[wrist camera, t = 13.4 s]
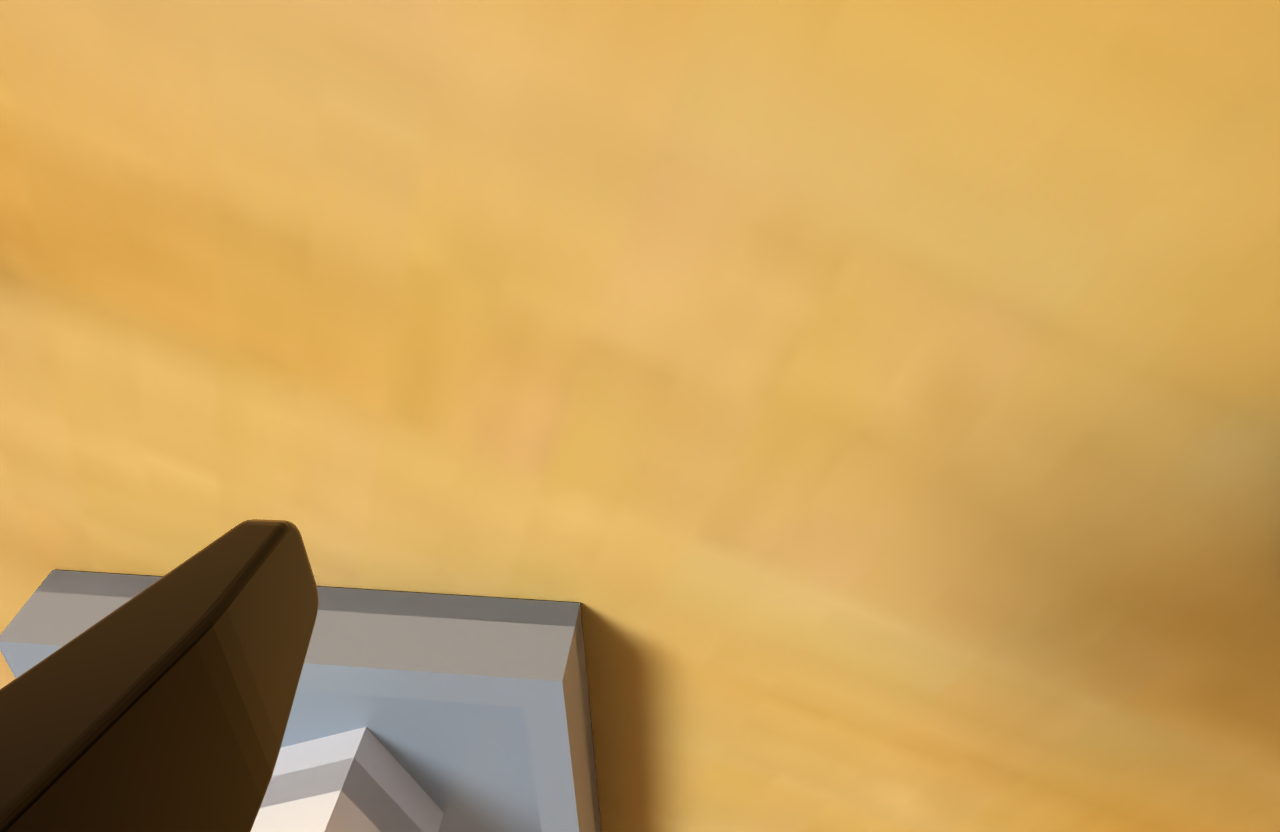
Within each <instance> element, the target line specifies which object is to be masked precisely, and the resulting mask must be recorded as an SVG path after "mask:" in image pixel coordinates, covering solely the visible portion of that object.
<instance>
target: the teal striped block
mask: <svg viewBox="0 0 1280 832" xmlns="http://www.w3.org/2000/svg"><path fill="white" fill-rule="evenodd" d="M443 814H444V812H443V811H442V810H441V809H440V808H439V807H438V806H437V805H436V803H435V802H434V801H433V800H432V799H431V798H430V797H429V796H428V795H427V794H426V792H425V791H424V790H423V789H422V788H421V787H420V786H419V785H418V784H417V782H416V781H415V780H414V779H413V778H412V777H411V776H410V775H409V774H408V773H407V771H406V770H405V769H404V768H403V767H402V766H401V765H400V764H399V763H398V761H397V760H396V759H395V758H394V757H393V756H392V755H391V754H390V753H389V752H388V750H387V749H386V748H385V747H384V746H383V745H382V744H381V743H380V742H379V740H378V739H377V738H376V737H375V736H374V735H373V734H372V733H371V732H370V730H369V729H368V728H367V727H363V728H359V729H355V730H351V731H347V732H343V733H339V734H335V735H331V736H327V737H323V738H319V739H315V740H311V741H306V742H302V743H298V744H294V745H290V746H286V747H282V748H281V749H280V752H279V755H278V758H277V762H276V765H275V768H274V771H273V775H272V777H271V780H270V783H269V785H268V788H267V791H266V794H265V796H264V799H263V802H262V804H261V807H260V809H259V812H258V814H257V817H256V819H255V822H254V824H253V827H252V829H251V832H438V831H439V827H440V824H441V821H442V817H443Z"/></svg>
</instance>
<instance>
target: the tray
mask: <svg viewBox="0 0 1280 832" xmlns="http://www.w3.org/2000/svg"><path fill="white" fill-rule="evenodd" d="M161 578H162V577H160V576H144V575H128V574H112V573H96V572H80V571H65V570H52V571H51V573H50V574H49V575H48V576H47V578H46V579H45V580H44V581H43V583H42V584H41V585H40V586H39V587H38V589H37V590H36V591H35V592H34V594H33V595H32V596H31V597H30V599H29V600H28V601H27V602H26V604H25V605H24V606H23V607H22V609H21V610H20V611H19V612H18V614H17V615H16V616H15V617H14V619H13V620H12V621H11V622H10V624H9V625H8V626H7V627H6V629H5V630H4V631H3V632H2V634H1V635H0V651H1V652H2V654H3V656H4V658H5V660H6V661H7V663H8V665H9V667H10V669H11V671H12V672H13V674H14V676H15V678H18V677H19V676H21V675H22V674H24V673H25V672H26V671H28V670H29V669H31V668H32V667H34V666H35V665H37V664H38V663H39V662H41V661H42V660H44V659H45V658H47V657H48V656H49V655H51V654H52V653H54V652H55V651H57V650H58V649H60V648H61V647H62V646H64V645H65V644H67V643H68V642H70V641H71V640H73V639H74V638H75V637H77V636H78V635H80V634H81V633H83V632H84V631H86V630H87V629H88V628H90V627H91V626H93V625H94V624H96V623H97V622H99V621H100V620H101V619H103V618H104V617H106V616H107V615H109V614H110V613H112V612H113V611H114V610H116V609H117V608H119V607H120V606H122V605H123V604H125V603H126V602H127V601H129V600H130V599H132V598H133V597H135V596H136V595H138V594H139V593H140V592H142V591H143V590H145V589H146V588H148V587H149V586H151V585H152V584H153V583H155V582H156V581H158V580H159V579H161ZM317 590H318V612H317V617H316V621H315V625H314V629H313V632H312V636H311V639H310V643H309V647H308V650H307V654H306V658H305V661H304V665H303V669H302V672H301V676H300V679H299V683H298V687H297V690H296V694H295V698H294V701H293V705H292V709H291V712H290V716H289V719H288V723H287V727H286V730H285V734H284V738H283V741H282V745H281V748H282V747H286V746H290V745H294V744H298V743H302V742H306V741H311V740H315V739H319V738H323V737H327V736H331V735H335V734H339V733H343V732H347V731H351V730H355V729H359V728H363V727H367V728H368V729H369V730H370V732H371V733H372V734H373V735H374V736H375V737H376V738H377V739H378V740H379V742H380V743H381V744H382V745H383V746H384V747H385V748H386V749H387V750H388V752H389V753H390V754H391V755H392V756H393V757H394V758H395V759H396V760H397V761H398V763H399V764H400V765H401V766H402V767H403V768H404V769H405V770H406V771H407V773H408V774H409V775H410V776H411V777H412V778H413V779H414V780H415V781H416V782H417V784H418V785H419V786H420V787H421V788H422V789H423V790H424V791H425V792H426V794H427V795H428V796H429V797H430V798H431V799H432V800H433V801H434V802H435V803H436V805H437V806H438V807H439V808H440V809H441V810H442V811H443V812H444V814H443V817H442V821H441V824H440V827H439V831H438V832H601V823H600V812H599V801H598V790H597V779H596V769H595V758H594V747H593V736H592V725H591V714H590V703H589V693H588V682H587V671H586V660H585V649H584V638H583V628H582V617H581V606H580V603H575V602H559V601H543V600H527V599H511V598H495V597H479V596H463V595H447V594H431V593H415V592H399V591H383V590H368V589H352V588H336V587H320V586H317Z"/></svg>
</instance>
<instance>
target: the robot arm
mask: <svg viewBox="0 0 1280 832" xmlns="http://www.w3.org/2000/svg"><path fill="white" fill-rule="evenodd" d="M317 612H318V590H317V586H316V582H315V579H314V576H313V573H312V569H311V566H310V563H309V560H308V556H307V553H306V550H305V547H304V543H303V540H302V537H301V534H300V532H299V530H298V528H297V527H296V526H295V525H294V524H293V523H291V522H288V521H281V520H255V519H254V520H247V521H244V522H242V523H241V524H239V525H237V526H236V527H234V528H233V529H231V530H230V531H229V532H227V533H226V534H224V535H223V536H221V537H220V538H218V539H217V540H216V541H214V542H213V543H211V544H210V545H208V546H207V547H205V548H204V549H203V550H201V551H200V552H198V553H197V554H195V555H194V556H192V557H191V558H190V559H188V560H187V561H185V562H184V563H182V564H181V565H179V566H178V567H177V568H175V569H174V570H172V571H171V572H169V573H168V574H166V575H165V576H164V577H162V578H161V579H159V580H158V581H156V582H155V583H153V584H152V585H151V586H149V587H148V588H146V589H145V590H143V591H142V592H140V593H139V594H138V595H136V596H135V597H133V598H132V599H130V600H129V601H127V602H126V603H125V604H123V605H122V606H120V607H119V608H117V609H116V610H114V611H113V612H112V613H110V614H109V615H107V616H106V617H104V618H103V619H101V620H100V621H99V622H97V623H96V624H94V625H93V626H91V627H90V628H88V629H87V630H86V631H84V632H83V633H81V634H80V635H78V636H77V637H75V638H74V639H73V640H71V641H70V642H68V643H67V644H65V645H64V646H62V647H61V648H60V649H58V650H57V651H55V652H54V653H52V654H51V655H49V656H48V657H47V658H45V659H44V660H42V661H41V662H39V663H38V664H37V665H35V666H34V667H32V668H31V669H29V670H28V671H26V672H25V673H24V674H22V675H21V676H19V677H18V678H16V679H15V680H13V681H12V682H11V683H9V684H8V685H6V686H5V687H3V688H2V689H0V832H251V829H252V827H253V824H254V822H255V819H256V817H257V814H258V812H259V809H260V807H261V804H262V802H263V799H264V796H265V794H266V791H267V788H268V785H269V783H270V780H271V777H272V775H273V771H274V768H275V765H276V762H277V758H278V755H279V752H280V749H281V745H282V741H283V738H284V734H285V730H286V727H287V723H288V719H289V716H290V712H291V709H292V705H293V701H294V698H295V694H296V690H297V687H298V683H299V679H300V676H301V672H302V669H303V665H304V661H305V658H306V654H307V650H308V647H309V643H310V639H311V636H312V632H313V629H314V625H315V621H316V617H317Z"/></svg>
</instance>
